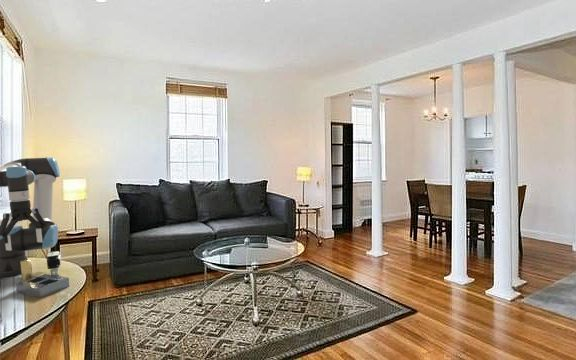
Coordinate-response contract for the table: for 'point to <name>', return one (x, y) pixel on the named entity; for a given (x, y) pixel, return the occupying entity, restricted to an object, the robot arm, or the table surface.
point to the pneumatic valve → (54, 262)
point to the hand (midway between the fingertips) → (24, 246)
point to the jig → (42, 285)
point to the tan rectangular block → (26, 269)
